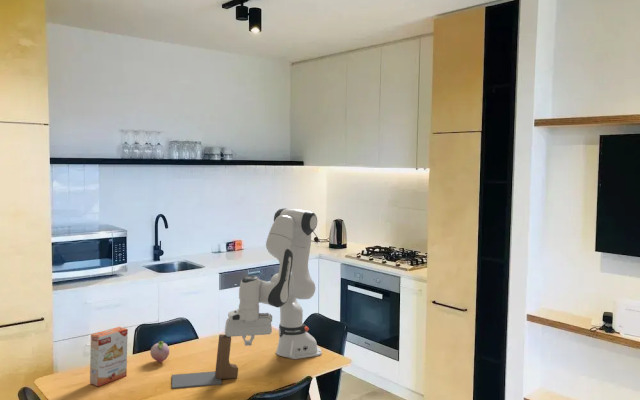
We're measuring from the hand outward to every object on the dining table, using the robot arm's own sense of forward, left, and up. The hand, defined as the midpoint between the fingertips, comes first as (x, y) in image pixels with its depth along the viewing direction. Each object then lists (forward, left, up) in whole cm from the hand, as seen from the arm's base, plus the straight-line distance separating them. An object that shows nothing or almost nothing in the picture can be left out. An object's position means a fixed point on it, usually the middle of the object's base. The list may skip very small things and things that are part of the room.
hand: (248, 345), depth 220 cm
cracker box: (+57, -8, -14) cm, 59 cm away
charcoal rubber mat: (+22, 0, -14) cm, 26 cm away
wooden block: (+9, 0, -14) cm, 16 cm away
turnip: (+37, -24, -14) cm, 47 cm away
